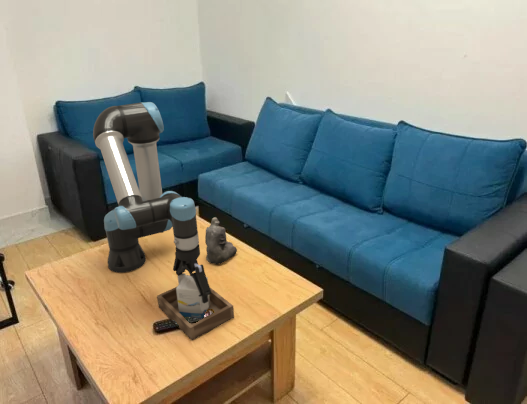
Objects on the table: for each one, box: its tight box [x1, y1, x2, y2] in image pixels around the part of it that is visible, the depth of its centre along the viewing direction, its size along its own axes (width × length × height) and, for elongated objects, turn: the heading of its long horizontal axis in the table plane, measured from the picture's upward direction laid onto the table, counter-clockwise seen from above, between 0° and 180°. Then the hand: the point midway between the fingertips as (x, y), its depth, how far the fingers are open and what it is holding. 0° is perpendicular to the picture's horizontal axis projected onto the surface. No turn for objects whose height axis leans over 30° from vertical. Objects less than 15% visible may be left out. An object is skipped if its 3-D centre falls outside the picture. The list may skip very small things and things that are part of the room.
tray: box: [156, 286, 235, 342], centre depth 147 cm, size 22×16×5 cm
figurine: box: [204, 216, 238, 265], centre depth 176 cm, size 13×12×18 cm
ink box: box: [176, 274, 210, 318], centre depth 146 cm, size 9×8×12 cm
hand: (193, 299), depth 146 cm, fingers open, 13 cm apart
